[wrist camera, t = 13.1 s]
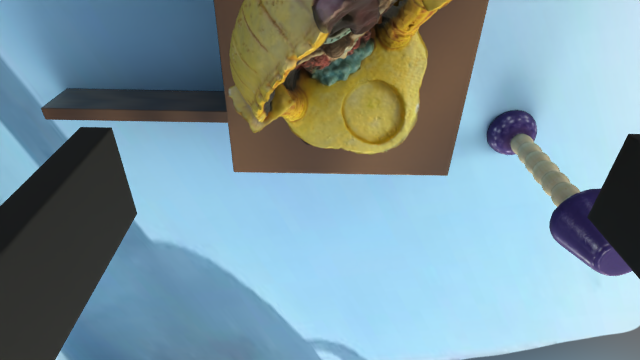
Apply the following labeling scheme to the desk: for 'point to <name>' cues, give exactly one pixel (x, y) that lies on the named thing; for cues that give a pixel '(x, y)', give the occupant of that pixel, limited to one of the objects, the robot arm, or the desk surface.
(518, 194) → the desk surface
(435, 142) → the wood block with slats
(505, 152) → the toy lamp
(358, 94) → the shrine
